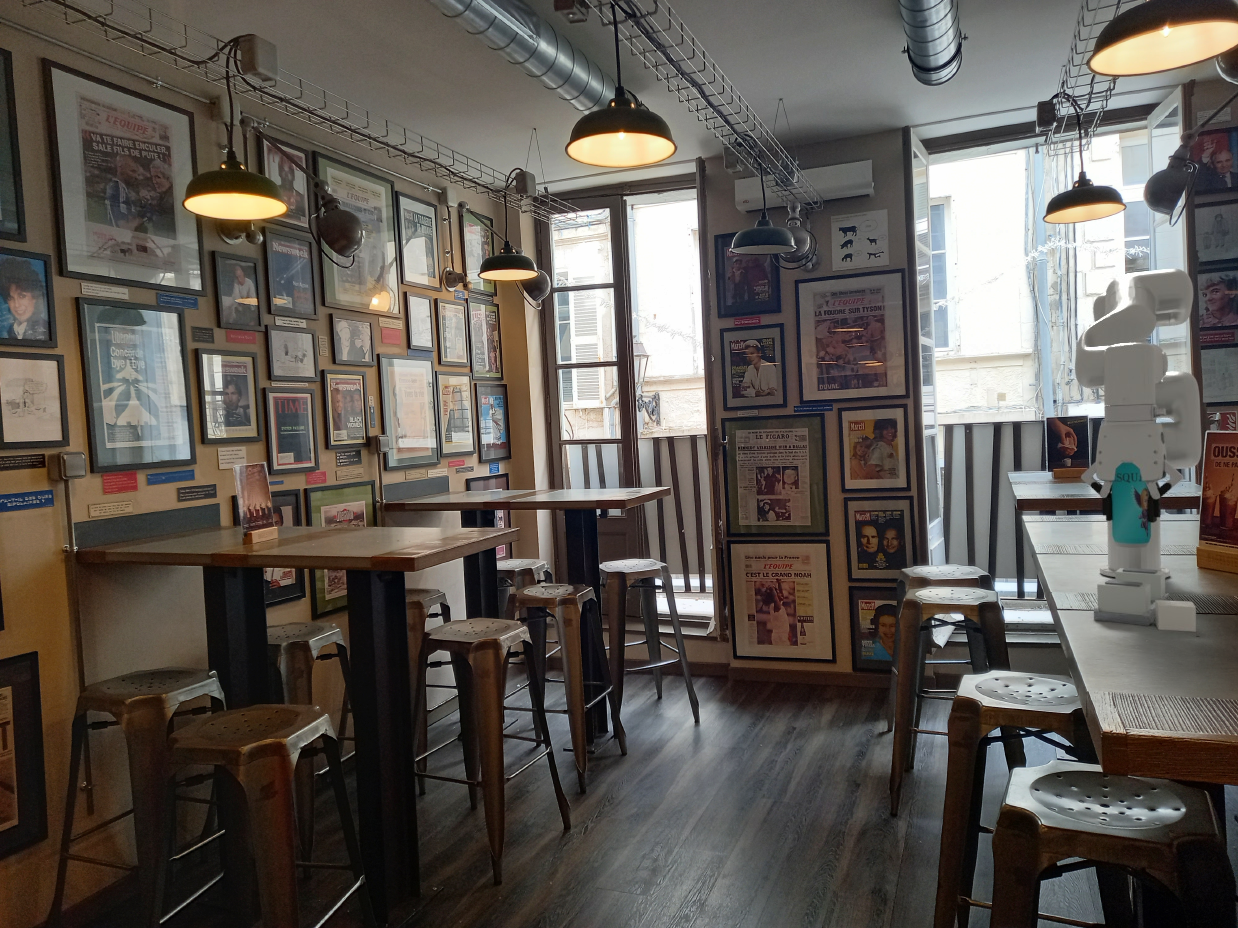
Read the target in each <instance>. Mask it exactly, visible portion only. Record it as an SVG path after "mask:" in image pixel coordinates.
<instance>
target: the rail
mask: <svg viewBox="0 0 1238 928" xmlns="http://www.w3.org/2000/svg"><path fill="white" fill-rule="evenodd" d="M1157 600H1165V601H1170V593H1168V592H1167V593H1166V592H1165V595H1164V596H1162V597H1161V598H1158V599H1157ZM1093 621H1103V622H1111V623H1120V624H1131V625H1138V626H1147V627H1148V626H1150V625H1151V624H1152V623H1154V622H1155V600H1151V608H1150V609H1149V610H1148V611H1147V612H1146V613H1143V615H1134V614H1124V613H1114V612H1105V611H1100V608H1098V604H1097V605H1096V606H1094V607H1093Z"/></svg>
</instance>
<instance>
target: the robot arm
mask: <svg viewBox="0 0 1238 928" xmlns="http://www.w3.org/2000/svg"><path fill="white" fill-rule="evenodd" d="M1193 301H1194V286H1193V282H1192V279H1191V278H1190V275H1188V273H1187V272H1186V271H1184V270H1182V269H1179V268H1165V269H1159V270H1158V269H1157V270H1149V271H1138V272H1130V273H1126V274H1121V275H1119V276H1117V277H1116V278H1114V279H1112V281H1111V282H1110V283H1109V284H1108V285H1107V287H1106V290H1105V292H1103V293H1102V294H1100V295H1099V296H1097V297H1096V298H1095V300H1094V302H1093V306H1092V310H1093V311H1092V312H1093V313H1092V314H1093V320H1094V323H1093V324H1091V325H1090V326H1088V327H1087V328H1086V329H1085V330H1084V331H1083V332H1082V333H1081V335H1080V336H1079V339H1078V341H1077V345H1076V348H1075V361H1074V374H1075V378H1076V380H1077V383H1079V384H1080V386H1081V387H1083V388H1085V389H1093V390H1094V389H1103V391H1104V392H1103V393H1104V396H1103V397H1104V398H1103V399H1104V403H1103V404H1104V408H1103V409H1104V424H1100V427H1099V431H1098V438H1097V447H1096V456H1095V462H1094V463H1093V464H1091V466H1089V467H1088V468H1087V469H1086V470H1085V472H1083V473H1082V474H1081V476H1080V479H1081V480H1082V481H1083V482H1084V483H1086V484H1087V485H1088V486H1090V487H1091V489H1092V490H1094V492H1096V493H1097V494H1098V495H1099V497H1100V498H1102V499H1101V500H1102V501H1101V502H1102V505H1101V506H1102V516H1105V522H1107V523H1106V525H1107V530H1106V531H1107V564H1105V565H1102V566H1100V567H1099V573H1100V574H1101V575H1104V576H1107V577H1110V578H1111V577H1112V578H1115V572H1116V571H1117V570H1119V569H1120V568H1123V569H1125V568H1136V569H1150V570H1158V571H1165V579H1166V578H1168V577H1170V575H1171V572H1170V569H1169V568H1166V567H1162V556H1161V555H1162V554H1161V553H1162V552H1161V551H1162V550H1161V547H1162V546H1161V543H1162V542H1161V540H1162V539H1161V537H1162V536H1161V515H1162V514H1161V513H1162V511H1161V509H1162V508H1161V505H1162V504H1161V503H1162V502H1161V499H1162V497H1163V496H1165V494H1167V493H1168V492H1169V491H1170V490H1171V489H1173V488H1174V487H1175V486H1177V485H1178V484H1179V483H1180V482H1181V481H1183V480H1184V475H1183V474H1182V473H1180V472H1179V469H1180V470H1181V469H1183V470H1184V469H1190V468H1194V467H1195V466H1197V465H1199V463H1200V460H1201V456H1202V425H1201V423H1202V422H1201V401H1200V390H1199V385H1198V381H1197V379H1196V378H1195V376H1194V375H1193V374H1191V373H1190V372H1188V371H1187V372H1186V371H1180V370H1179V371H1168V368H1169V361H1168V360H1169V359H1168V356H1167V353H1166V351H1164V350H1163V349H1162V347H1160V346H1159V345H1158V344H1155V343H1149V342H1148V341H1147V340H1146V339H1148V338H1149V337H1150V336H1151V335H1152V334H1153V333H1154V331H1155V329H1156V328H1159V327H1161V328H1162V327H1171V326H1174V327H1175V326H1178V325H1182V324H1184V323H1186V322H1187V321H1188V319H1189V318H1190V316H1191V313H1192V305H1193ZM1157 419H1170V420H1172V422H1171V421H1170V422H1156V420H1157ZM1121 460H1134V462H1132V463H1133V464H1135V465H1136V466H1137V467H1138V468H1139V469H1140V472H1141V477H1142V480H1143V481H1144V482H1146V484H1147V487H1148V489H1149V491H1150V493H1151V495H1150V499H1149V500H1148V521H1149V522H1150V523H1151V538H1150V541H1149V543H1148V545H1147V546H1146V547H1143V548H1127V547H1119V546H1117V545H1116V543H1115V541H1114V538H1113V536H1112V482H1113V481H1114V479H1115V470H1116V468H1117V467H1118V466H1119V465H1120V464H1121V463H1123V462H1121ZM1094 475H1096V476H1095V477H1096V478H1097V479H1099V481H1098V480H1097V479H1095V478H1094ZM1167 475H1168V476H1169V477H1170V478H1169V479H1168V480H1167V481H1166V482H1164V483H1163V484H1162V485H1161V486H1160V484H1159V481H1160V480H1163V479H1165V478H1166V477H1167ZM1100 481H1102V482H1103V484H1102V483H1101V482H1100Z"/></svg>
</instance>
